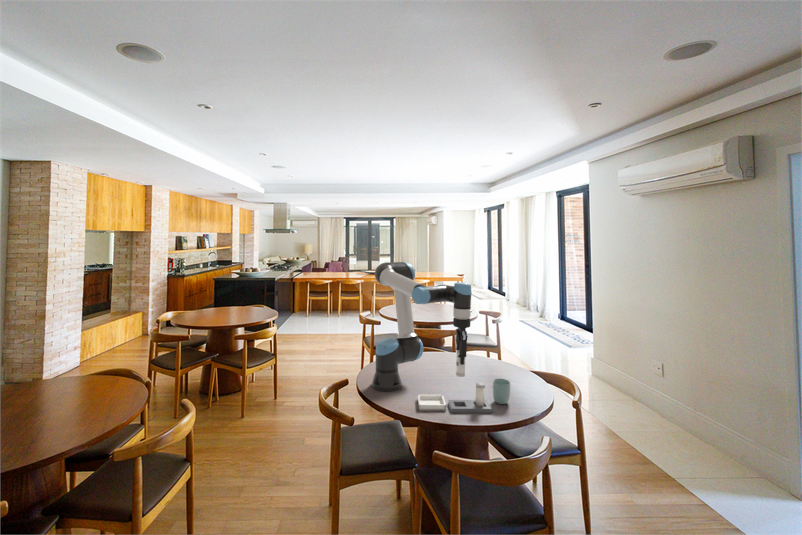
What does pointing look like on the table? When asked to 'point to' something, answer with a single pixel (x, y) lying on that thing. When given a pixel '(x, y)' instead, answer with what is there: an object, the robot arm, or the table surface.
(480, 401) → the cylinder
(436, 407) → the tray
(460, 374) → the cylinder
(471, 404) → the holder
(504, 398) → the cup
